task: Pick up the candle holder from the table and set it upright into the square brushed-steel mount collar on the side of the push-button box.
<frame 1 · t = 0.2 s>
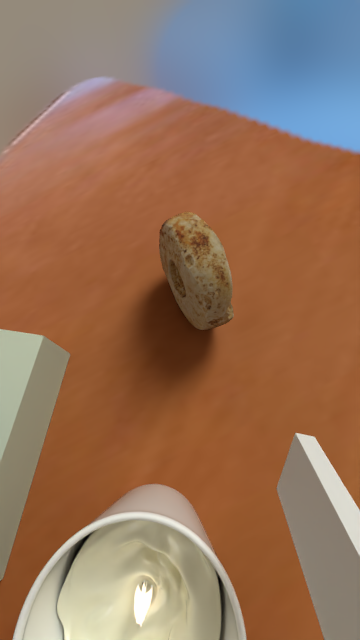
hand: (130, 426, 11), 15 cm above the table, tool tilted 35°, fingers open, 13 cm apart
candle holder: (152, 540, 23), on the table
stone disc: (189, 299, 31), on the table
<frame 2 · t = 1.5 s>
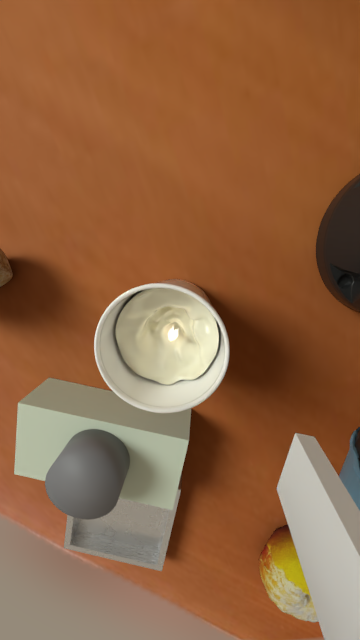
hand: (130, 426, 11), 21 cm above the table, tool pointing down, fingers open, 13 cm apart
candle holder: (176, 315, 32), on the table
chute mount: (124, 504, 38), on the table
push-button box: (114, 424, 35), on the table
fruit: (293, 549, 38), on the table
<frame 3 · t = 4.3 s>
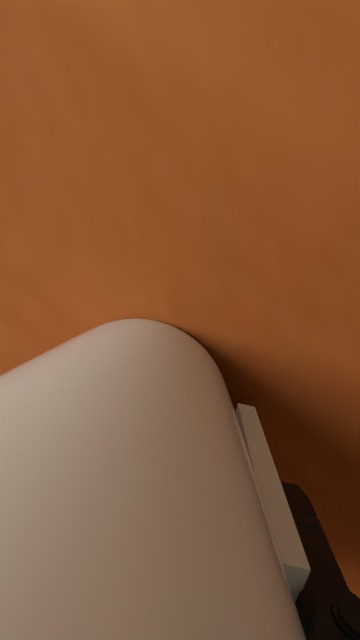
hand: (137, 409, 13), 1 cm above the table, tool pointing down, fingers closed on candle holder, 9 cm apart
candle holder: (141, 398, 14), on the table, touching gripper
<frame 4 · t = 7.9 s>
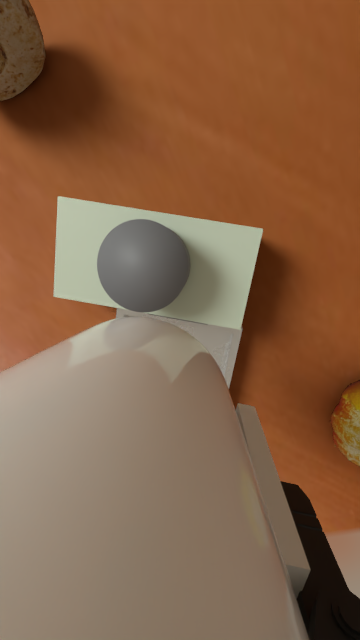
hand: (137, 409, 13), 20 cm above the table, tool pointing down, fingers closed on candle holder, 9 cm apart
candle holder: (141, 396, 14), point 19 cm above the table, touching gripper
chute mount: (172, 365, 34), on the table
stone disc: (18, 78, 28), on the table
push-button box: (162, 262, 31), on the table
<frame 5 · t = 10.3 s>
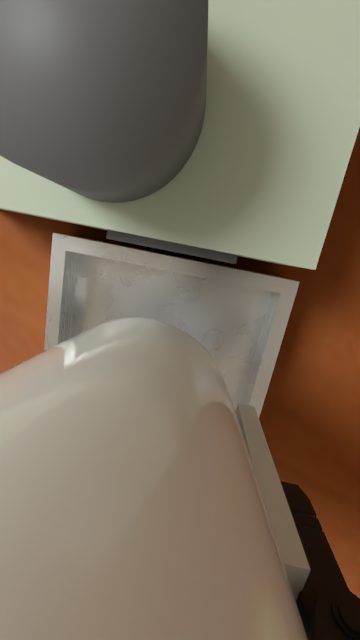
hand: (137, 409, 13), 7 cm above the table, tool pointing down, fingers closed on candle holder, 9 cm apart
candle holder: (141, 397, 14), point 6 cm above the table, touching gripper
chute mount: (159, 356, 19), on the table
push-button box: (144, 155, 16), on the table
when the fingers open (2 cm above the table, at t = 12.0 s): candle holder stays where it is, resting on chute mount.
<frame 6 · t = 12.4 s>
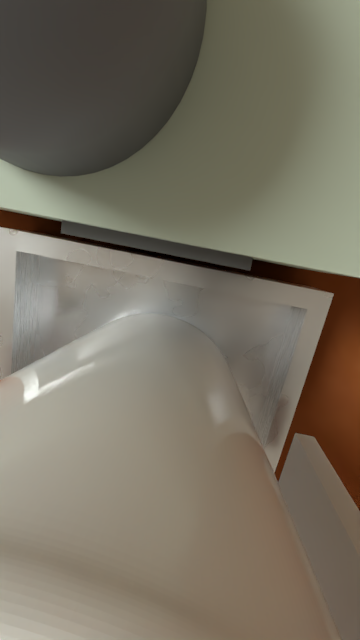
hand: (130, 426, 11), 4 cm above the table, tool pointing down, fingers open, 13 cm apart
candle holder: (153, 388, 15), resting on chute mount
chute mount: (147, 385, 15), on the table
push-button box: (124, 125, 12), on the table
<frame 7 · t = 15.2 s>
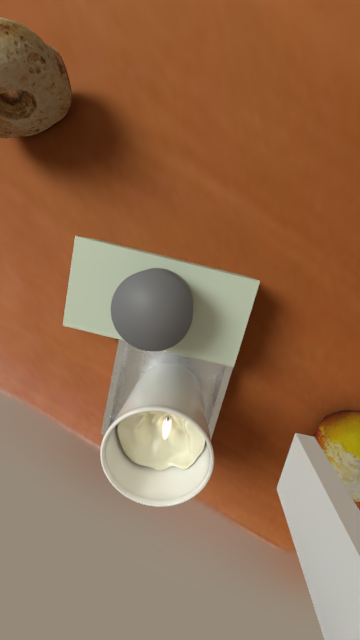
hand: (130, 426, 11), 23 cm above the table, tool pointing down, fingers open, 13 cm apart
candle holder: (169, 391, 36), resting on chute mount
chute mount: (166, 390, 36), on the table
stone disc: (41, 117, 30), on the table
push-button box: (164, 295, 33), on the table
fruit: (340, 442, 37), on the table
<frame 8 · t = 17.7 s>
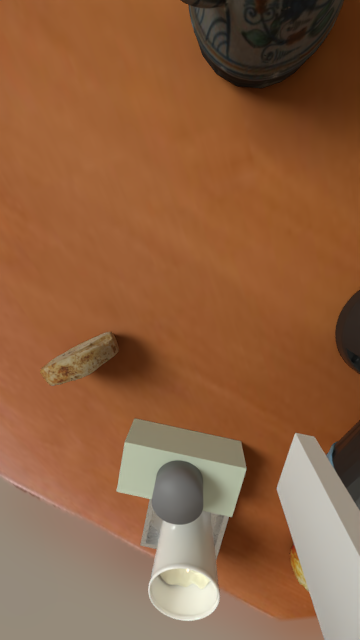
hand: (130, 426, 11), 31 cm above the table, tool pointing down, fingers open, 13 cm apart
candle holder: (187, 513, 50), resting on chute mount
chute mount: (185, 511, 50), on the table
beer stein: (252, 26, 33), on the table
stone disc: (95, 346, 44), on the table
push-button box: (182, 452, 47), on the table
fruit: (315, 545, 50), on the table
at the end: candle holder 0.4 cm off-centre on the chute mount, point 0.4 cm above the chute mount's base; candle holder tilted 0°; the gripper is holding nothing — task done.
